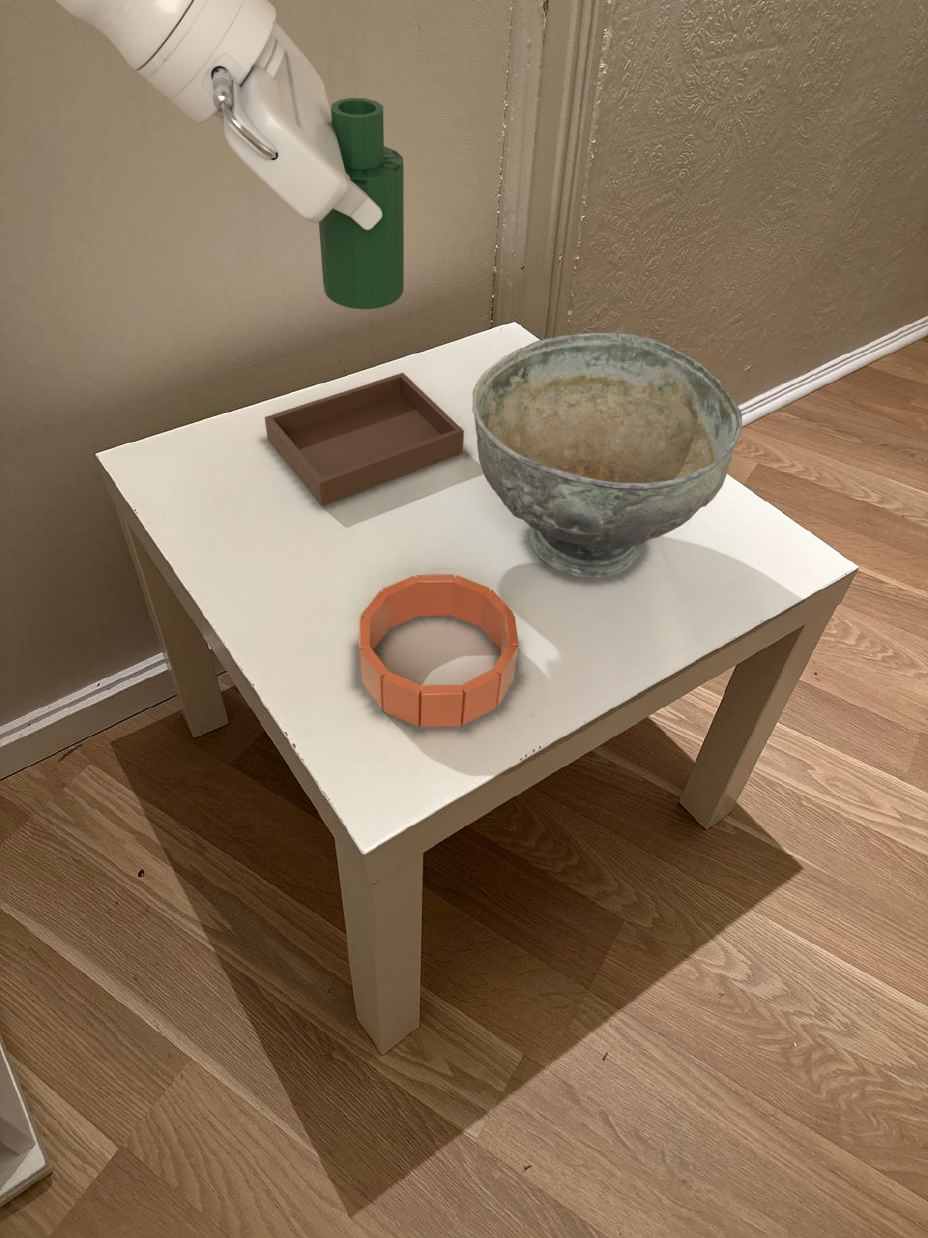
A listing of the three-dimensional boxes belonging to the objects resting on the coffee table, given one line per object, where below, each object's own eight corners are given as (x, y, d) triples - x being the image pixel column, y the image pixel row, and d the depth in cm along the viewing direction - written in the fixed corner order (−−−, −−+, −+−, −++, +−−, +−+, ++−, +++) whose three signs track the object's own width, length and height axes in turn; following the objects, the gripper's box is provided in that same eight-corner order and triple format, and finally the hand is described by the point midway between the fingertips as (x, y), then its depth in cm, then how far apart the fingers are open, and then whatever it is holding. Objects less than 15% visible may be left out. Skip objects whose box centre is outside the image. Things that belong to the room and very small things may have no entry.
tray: (321, 506, 80) (319, 483, 78) (267, 440, 86) (264, 416, 84) (462, 453, 86) (464, 430, 84) (403, 394, 92) (402, 372, 90)
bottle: (322, 308, 70) (308, 123, 60) (325, 268, 74) (313, 88, 64) (404, 309, 70) (404, 125, 60) (402, 270, 74) (402, 91, 64)
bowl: (428, 513, 80) (431, 366, 69) (597, 448, 87) (625, 306, 76) (559, 661, 69) (588, 516, 58) (738, 572, 77) (795, 429, 65)
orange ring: (360, 729, 64) (358, 696, 61) (362, 609, 72) (360, 575, 69) (519, 725, 65) (525, 692, 62) (505, 607, 73) (509, 573, 70)
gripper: (249, 61, 50) (420, 228, 59) (239, -37, 63) (380, 111, 72) (182, 148, 52) (355, 294, 61) (186, 36, 65) (328, 170, 74)
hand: (368, 195), depth 67 cm, fingers closed on bottle, 6 cm apart
